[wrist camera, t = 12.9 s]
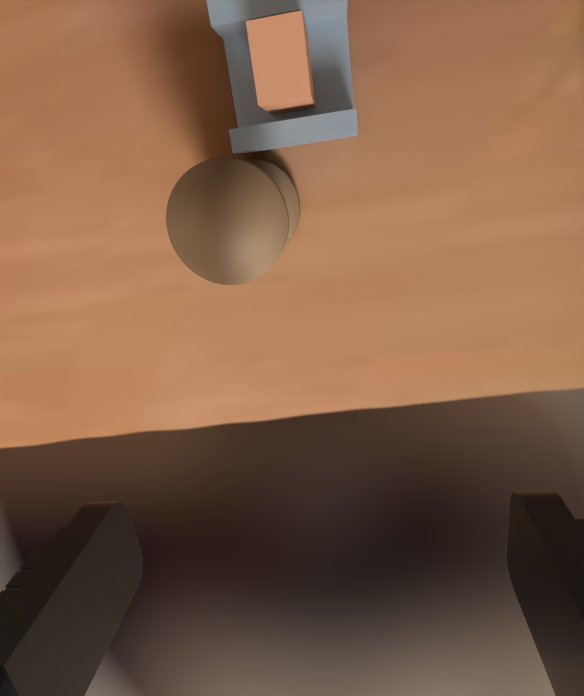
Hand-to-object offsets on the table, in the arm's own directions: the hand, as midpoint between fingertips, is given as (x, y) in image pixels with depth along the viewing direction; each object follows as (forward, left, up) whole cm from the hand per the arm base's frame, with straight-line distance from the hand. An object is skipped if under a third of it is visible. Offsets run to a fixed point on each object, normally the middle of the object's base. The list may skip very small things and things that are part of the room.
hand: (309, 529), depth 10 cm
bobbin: (+5, -5, -28) cm, 29 cm away
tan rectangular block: (+1, -13, -27) cm, 30 cm away
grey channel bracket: (+1, -13, -28) cm, 31 cm away
